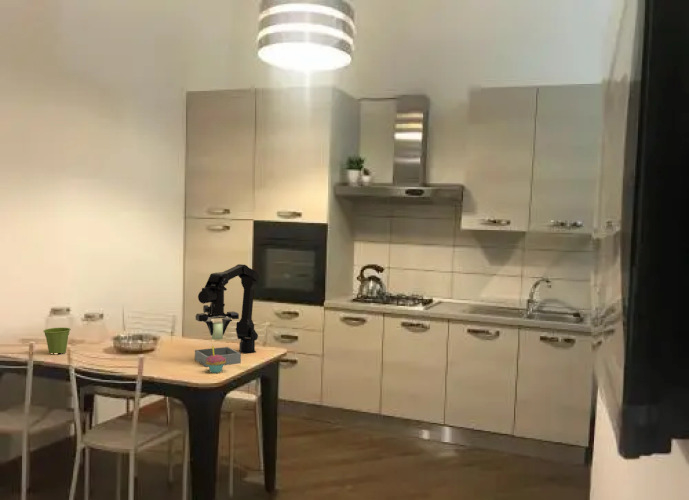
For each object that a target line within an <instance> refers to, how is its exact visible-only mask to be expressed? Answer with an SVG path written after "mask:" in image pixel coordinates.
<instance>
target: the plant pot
mask: <svg viewBox="0 0 689 500" xmlns="http://www.w3.org/2000/svg"><path fill="white" fill-rule="evenodd" d="M70 331H71V328H70V327H52V328H46V329H43V330H42V332H43V333H44V336H45V339H46V343H47V344H46V345H47V349H48V354H50V353H63V354H65V353H64V352H66V353H67V347H68V341H69V340H68V339H69V335H70Z"/></svg>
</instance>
